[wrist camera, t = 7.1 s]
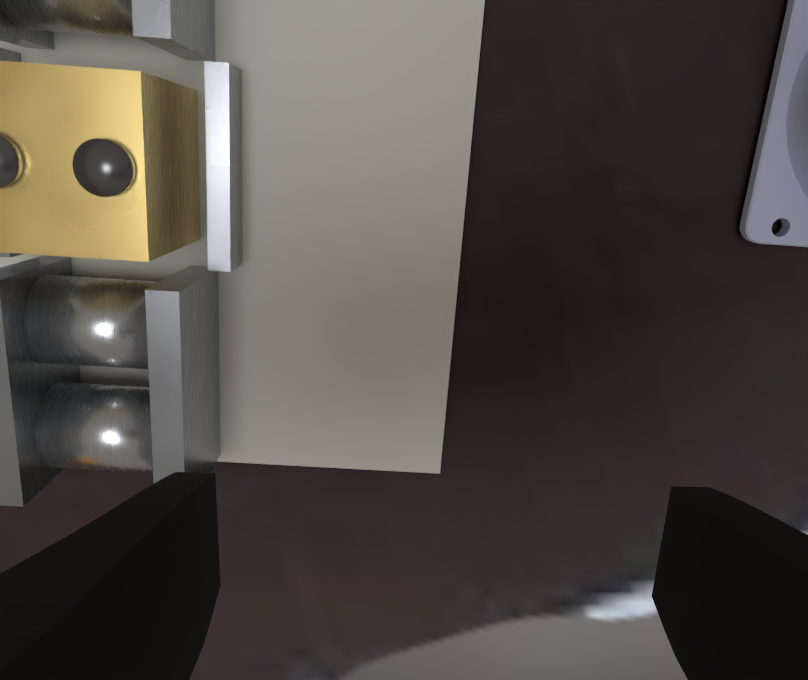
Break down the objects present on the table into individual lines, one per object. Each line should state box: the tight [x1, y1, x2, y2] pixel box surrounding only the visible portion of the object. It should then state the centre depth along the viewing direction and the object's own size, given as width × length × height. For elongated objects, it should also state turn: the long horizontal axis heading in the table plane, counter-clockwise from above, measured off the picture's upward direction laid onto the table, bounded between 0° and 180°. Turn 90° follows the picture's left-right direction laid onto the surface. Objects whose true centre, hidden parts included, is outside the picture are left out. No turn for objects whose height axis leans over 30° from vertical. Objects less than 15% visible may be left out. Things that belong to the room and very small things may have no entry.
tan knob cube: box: [0, 61, 201, 262], centre depth 15 cm, size 4×4×4 cm
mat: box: [0, 0, 485, 474], centre depth 18 cm, size 14×18×1 cm
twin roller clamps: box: [0, 0, 242, 506], centre depth 16 cm, size 6×18×4 cm, turn 176°
